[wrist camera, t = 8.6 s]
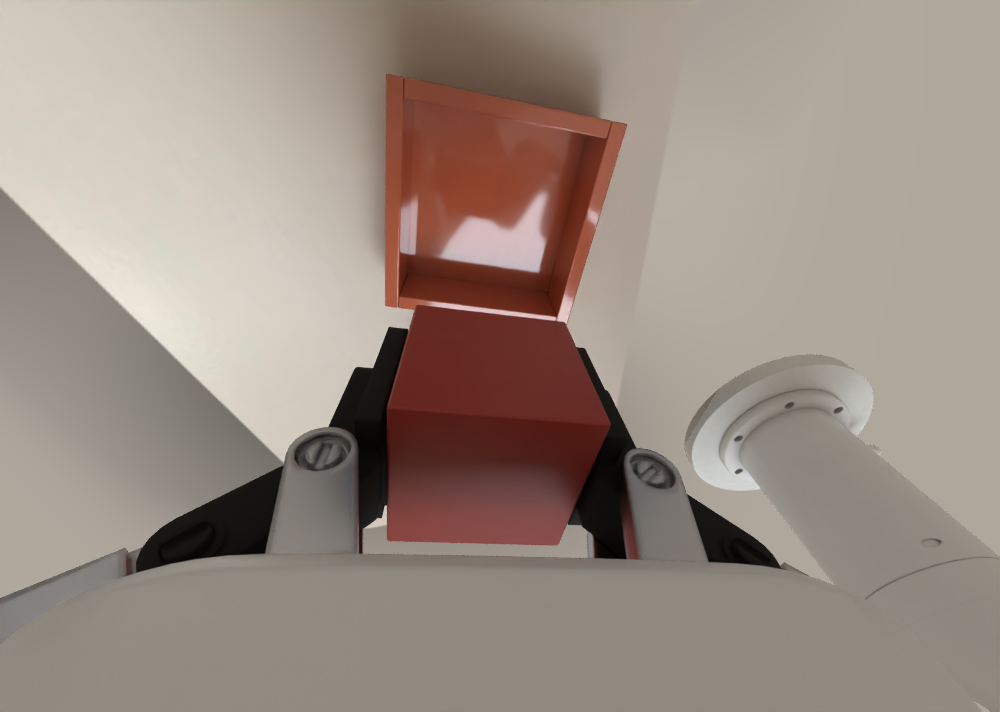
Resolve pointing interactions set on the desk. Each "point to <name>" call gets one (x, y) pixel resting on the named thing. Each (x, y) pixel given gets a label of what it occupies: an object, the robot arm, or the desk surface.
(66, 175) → the desk surface
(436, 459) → the red block
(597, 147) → the terracotta bin
